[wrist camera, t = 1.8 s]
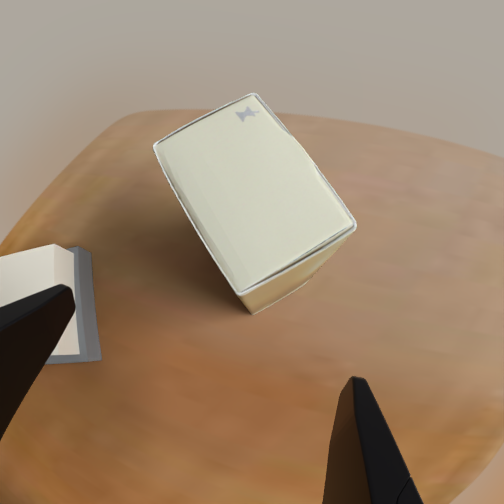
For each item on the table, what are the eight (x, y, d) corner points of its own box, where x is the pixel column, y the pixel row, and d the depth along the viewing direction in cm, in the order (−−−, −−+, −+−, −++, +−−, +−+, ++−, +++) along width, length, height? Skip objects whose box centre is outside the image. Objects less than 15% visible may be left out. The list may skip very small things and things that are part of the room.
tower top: (79, 354, 18) (58, 355, 16) (12, 355, 19) (-10, 354, 16) (73, 253, 20) (54, 243, 18) (9, 267, 20) (-12, 259, 18)
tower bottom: (105, 359, 21) (88, 361, 18) (29, 364, 21) (10, 365, 18) (94, 254, 23) (78, 246, 20) (22, 272, 23) (4, 265, 20)
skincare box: (205, 239, 22) (143, 138, 10) (260, 207, 22) (251, 83, 11) (254, 321, 21) (234, 303, 9) (311, 286, 21) (363, 223, 9)
